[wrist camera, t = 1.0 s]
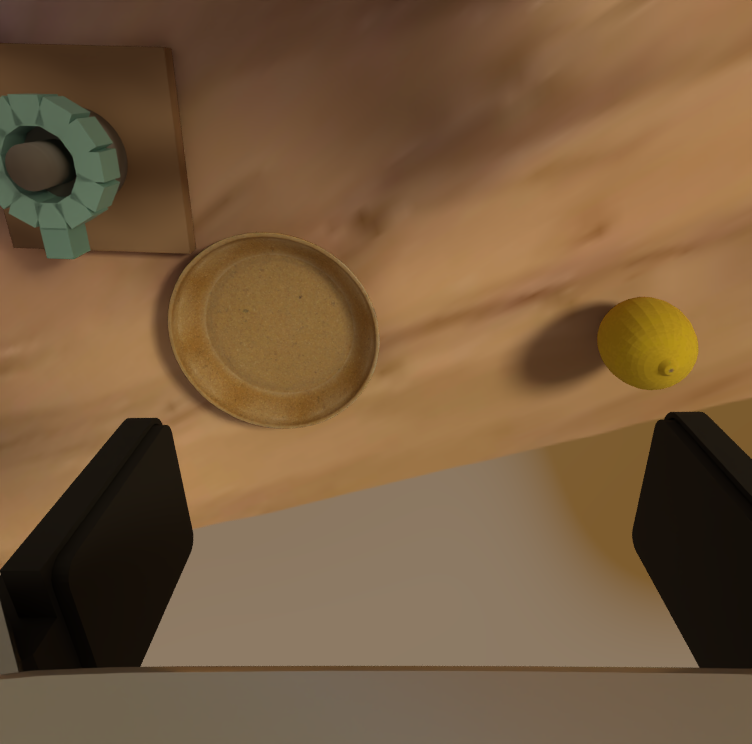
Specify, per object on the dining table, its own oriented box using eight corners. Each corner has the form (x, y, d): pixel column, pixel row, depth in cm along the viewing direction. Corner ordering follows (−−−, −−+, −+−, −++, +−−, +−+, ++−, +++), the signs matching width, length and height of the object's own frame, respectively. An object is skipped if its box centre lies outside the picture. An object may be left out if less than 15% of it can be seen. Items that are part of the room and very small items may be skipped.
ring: (-19, 92, 31) (-44, 92, 30) (106, 95, 31) (88, 96, 29) (22, 247, 35) (2, 256, 34) (133, 251, 35) (119, 260, 33)
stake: (-28, 43, 34) (-125, 34, 28) (171, 48, 34) (118, 40, 27) (24, 243, 39) (-47, 273, 33) (195, 248, 39) (156, 280, 33)
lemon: (584, 360, 42) (622, 417, 34) (582, 288, 39) (622, 334, 32) (662, 348, 41) (717, 404, 34) (665, 275, 39) (725, 318, 31)
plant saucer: (178, 394, 45) (166, 411, 42) (181, 205, 38) (166, 213, 36) (363, 425, 45) (361, 443, 43) (397, 244, 39) (397, 255, 36)
